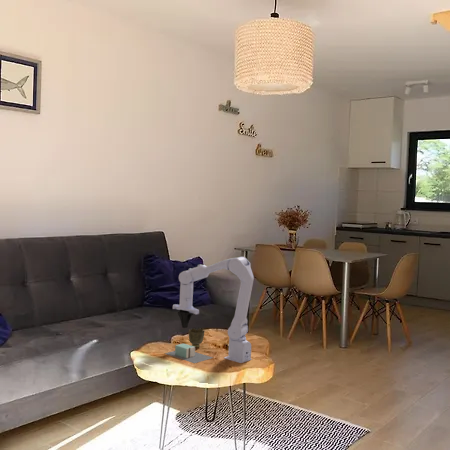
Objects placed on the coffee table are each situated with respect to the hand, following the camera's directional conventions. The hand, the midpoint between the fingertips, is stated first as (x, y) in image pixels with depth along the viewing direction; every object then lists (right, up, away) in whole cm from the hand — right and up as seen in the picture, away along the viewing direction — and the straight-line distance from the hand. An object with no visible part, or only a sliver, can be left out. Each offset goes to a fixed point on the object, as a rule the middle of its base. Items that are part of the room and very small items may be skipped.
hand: (184, 327), depth 243 cm
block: (+3, -9, -11) cm, 14 cm away
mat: (+2, -11, -8) cm, 14 cm away
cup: (+5, -11, +7) cm, 13 cm away
